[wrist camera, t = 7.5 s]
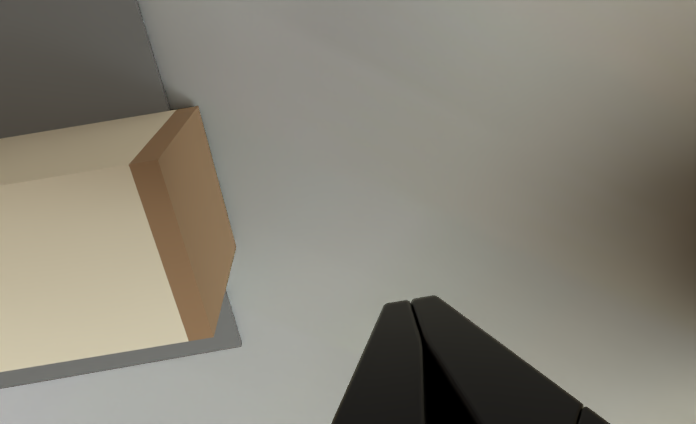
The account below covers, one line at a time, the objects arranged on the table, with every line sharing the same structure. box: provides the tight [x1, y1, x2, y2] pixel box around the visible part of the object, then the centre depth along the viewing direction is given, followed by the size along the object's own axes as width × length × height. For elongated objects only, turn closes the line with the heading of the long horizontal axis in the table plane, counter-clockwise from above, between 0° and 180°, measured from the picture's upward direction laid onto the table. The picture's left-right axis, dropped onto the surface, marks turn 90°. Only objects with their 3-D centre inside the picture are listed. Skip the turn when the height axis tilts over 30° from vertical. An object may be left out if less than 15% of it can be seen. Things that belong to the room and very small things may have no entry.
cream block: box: [0, 106, 236, 372], centre depth 14 cm, size 4×4×9 cm
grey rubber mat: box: [0, 0, 242, 389], centre depth 16 cm, size 10×12×1 cm
